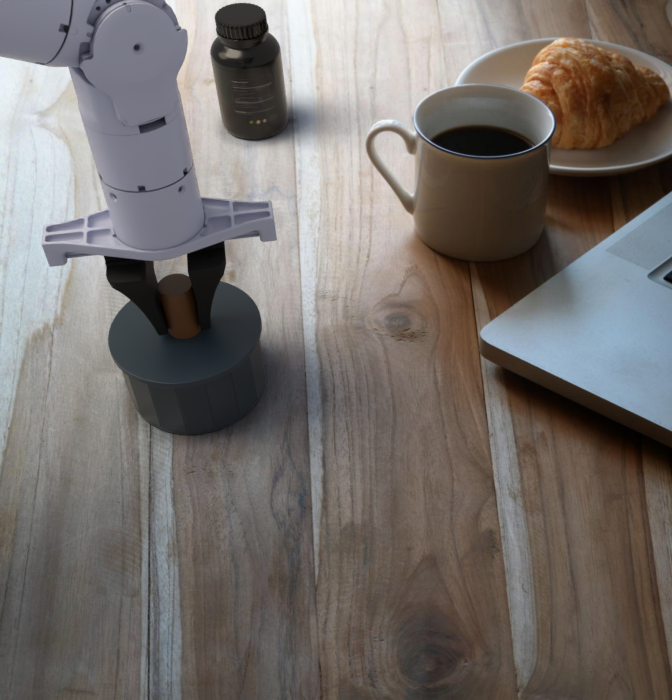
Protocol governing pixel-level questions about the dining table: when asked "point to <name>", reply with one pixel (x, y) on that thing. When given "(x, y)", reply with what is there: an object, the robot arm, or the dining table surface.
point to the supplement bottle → (248, 73)
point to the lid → (185, 336)
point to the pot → (202, 400)
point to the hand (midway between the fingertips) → (184, 322)
